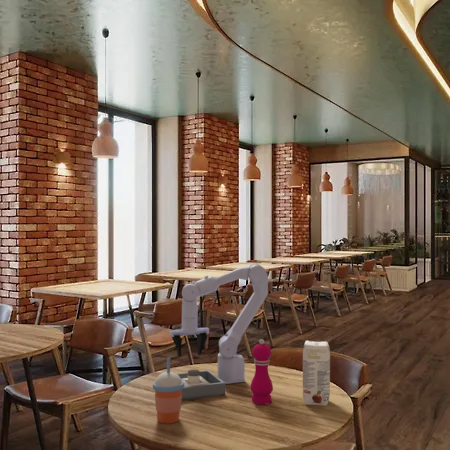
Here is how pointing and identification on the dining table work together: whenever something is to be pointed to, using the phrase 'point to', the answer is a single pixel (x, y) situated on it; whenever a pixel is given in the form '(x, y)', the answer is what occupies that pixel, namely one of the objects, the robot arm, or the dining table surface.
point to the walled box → (203, 386)
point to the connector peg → (193, 376)
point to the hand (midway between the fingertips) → (189, 354)
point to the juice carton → (316, 373)
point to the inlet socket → (201, 382)
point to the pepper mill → (261, 375)
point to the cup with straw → (168, 396)
